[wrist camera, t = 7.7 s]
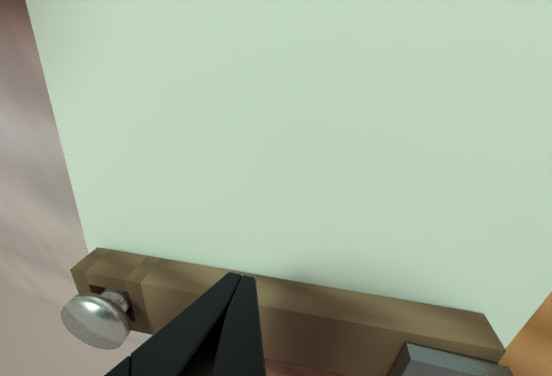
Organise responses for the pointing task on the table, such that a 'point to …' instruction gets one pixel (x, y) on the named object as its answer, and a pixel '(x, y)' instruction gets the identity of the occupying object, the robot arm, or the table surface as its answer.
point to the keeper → (442, 364)
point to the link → (296, 315)
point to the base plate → (311, 144)
